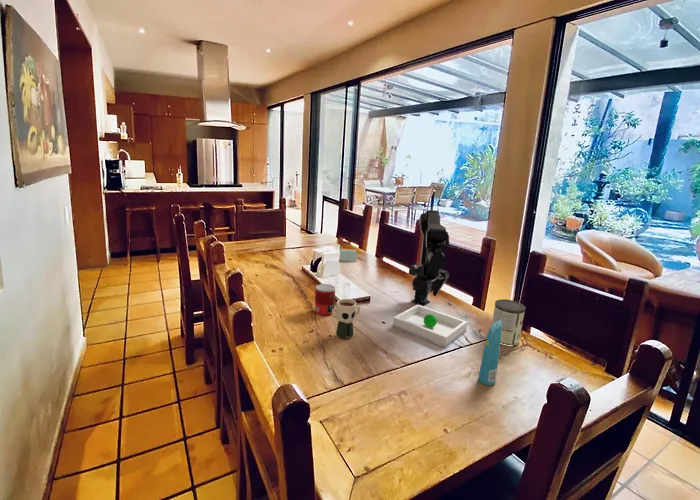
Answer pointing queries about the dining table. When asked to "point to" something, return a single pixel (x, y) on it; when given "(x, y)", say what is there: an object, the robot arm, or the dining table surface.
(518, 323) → the coffee can
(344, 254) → the l-shaped corner panel
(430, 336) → the white tray
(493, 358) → the tube
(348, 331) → the character mug
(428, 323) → the polyhedron
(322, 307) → the canned food
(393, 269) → the dining table surface
